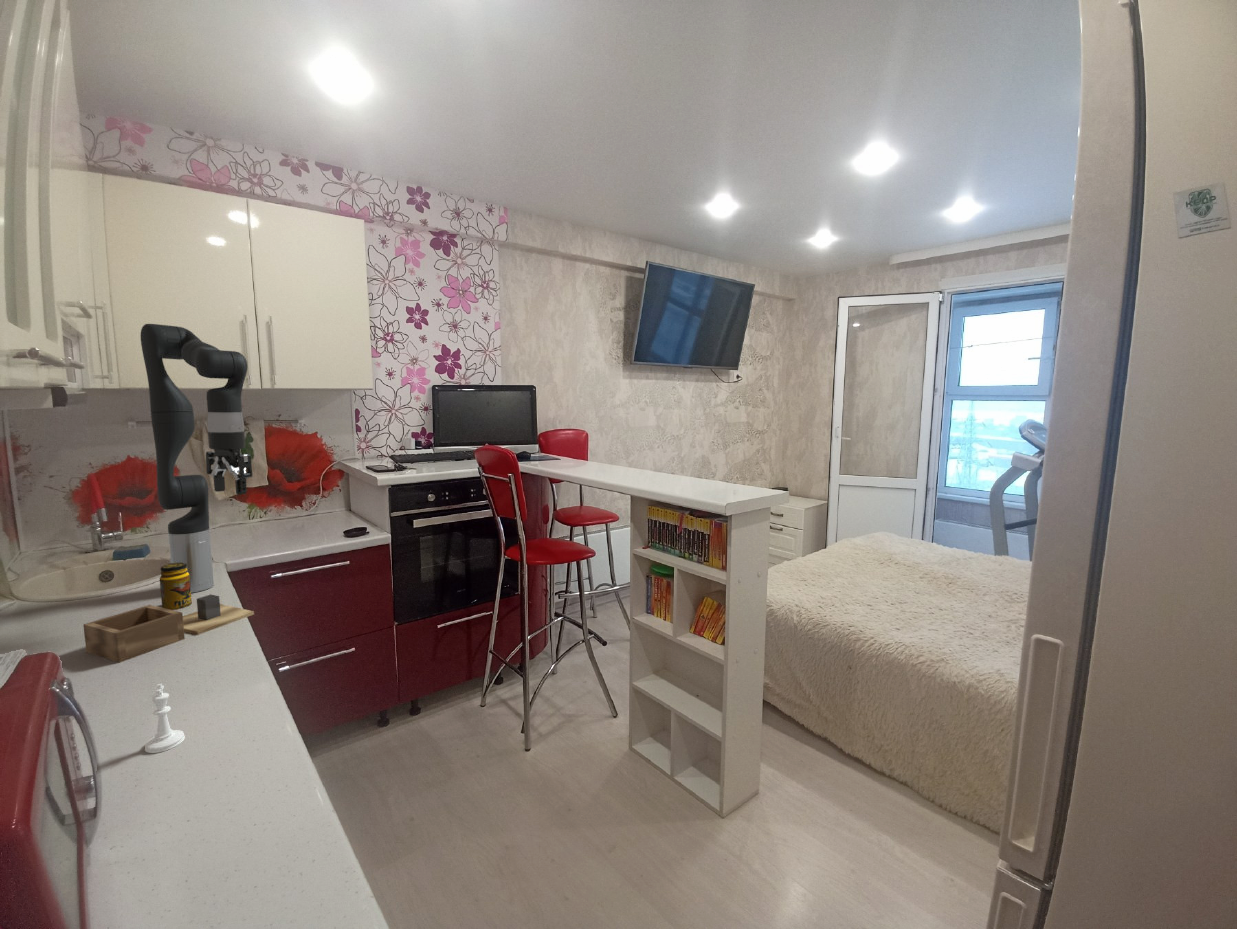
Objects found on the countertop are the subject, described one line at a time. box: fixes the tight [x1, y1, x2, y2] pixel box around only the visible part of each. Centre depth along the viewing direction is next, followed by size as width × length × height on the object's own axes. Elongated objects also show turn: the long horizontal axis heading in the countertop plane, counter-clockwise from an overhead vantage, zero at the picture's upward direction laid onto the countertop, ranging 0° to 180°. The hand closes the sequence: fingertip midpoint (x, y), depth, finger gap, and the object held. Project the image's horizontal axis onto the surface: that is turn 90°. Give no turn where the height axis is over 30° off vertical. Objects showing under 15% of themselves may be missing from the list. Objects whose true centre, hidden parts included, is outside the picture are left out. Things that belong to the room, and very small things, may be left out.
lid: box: [183, 594, 255, 636], centre depth 131 cm, size 13×13×7 cm
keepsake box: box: [83, 604, 186, 664], centre depth 117 cm, size 12×12×7 cm
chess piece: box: [144, 683, 186, 754], centre depth 85 cm, size 5×5×10 cm
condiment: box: [159, 562, 193, 611], centre depth 139 cm, size 7×8×12 cm
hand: (230, 492), depth 137 cm, fingers open, 8 cm apart
